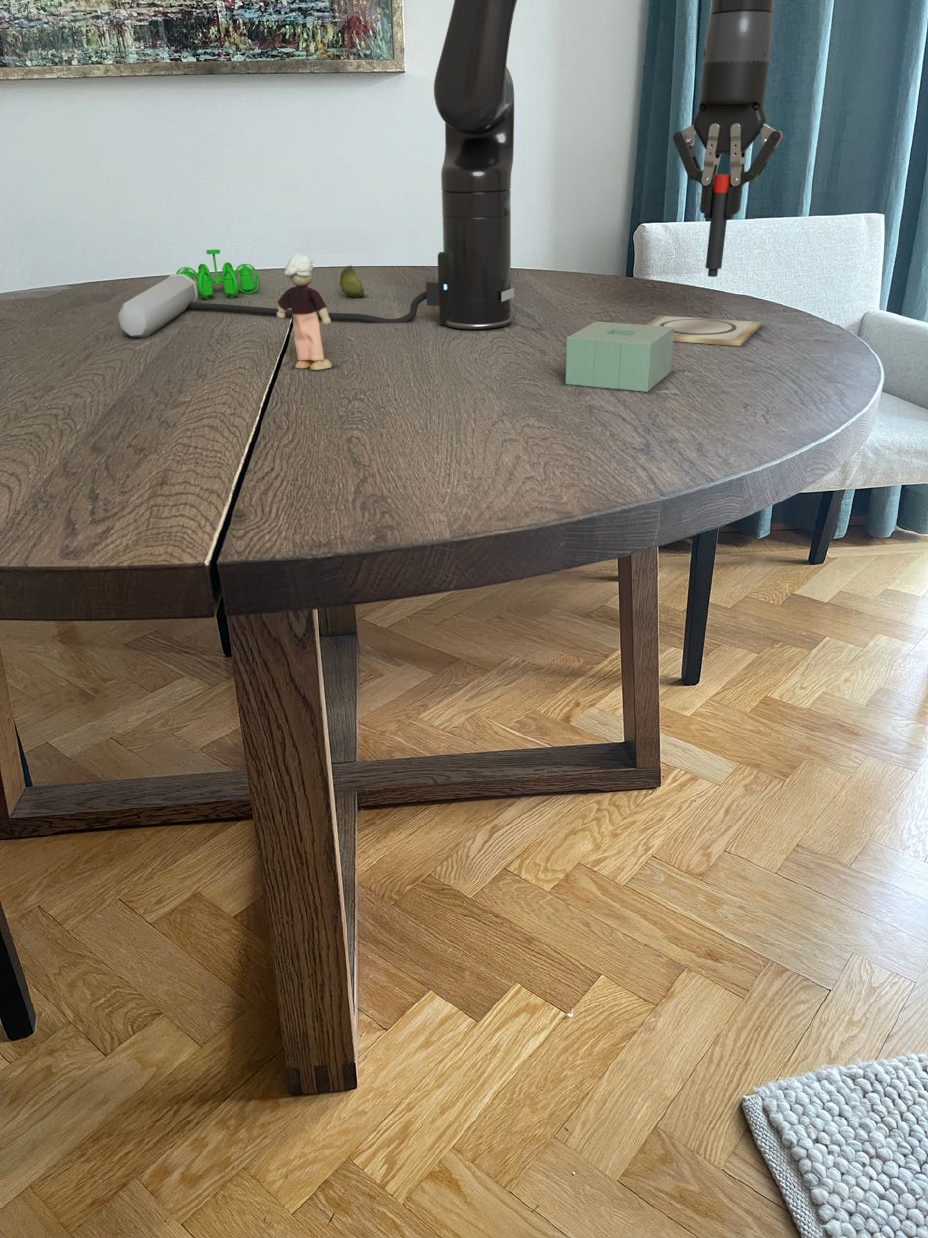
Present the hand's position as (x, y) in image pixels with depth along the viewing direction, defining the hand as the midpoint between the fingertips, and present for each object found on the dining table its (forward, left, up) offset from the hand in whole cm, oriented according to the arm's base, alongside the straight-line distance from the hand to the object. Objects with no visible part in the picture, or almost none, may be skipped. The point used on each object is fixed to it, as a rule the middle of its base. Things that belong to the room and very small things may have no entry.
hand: (718, 217), depth 118 cm
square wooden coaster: (-1, -2, -14) cm, 14 cm away
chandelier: (-85, +2, -14) cm, 86 cm away
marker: (0, 0, -7) cm, 7 cm away
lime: (-60, +6, -14) cm, 62 cm away
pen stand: (-3, -29, -14) cm, 32 cm away
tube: (-76, -22, -14) cm, 80 cm away
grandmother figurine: (-39, -37, -14) cm, 55 cm away
